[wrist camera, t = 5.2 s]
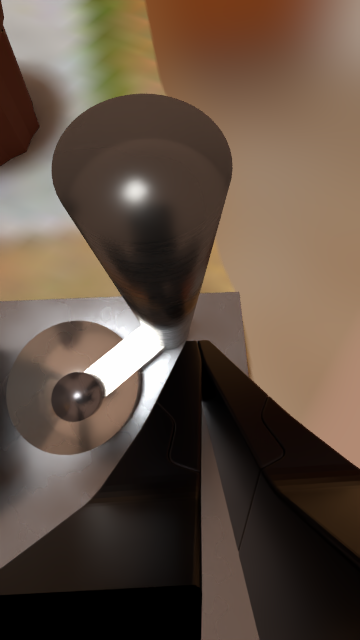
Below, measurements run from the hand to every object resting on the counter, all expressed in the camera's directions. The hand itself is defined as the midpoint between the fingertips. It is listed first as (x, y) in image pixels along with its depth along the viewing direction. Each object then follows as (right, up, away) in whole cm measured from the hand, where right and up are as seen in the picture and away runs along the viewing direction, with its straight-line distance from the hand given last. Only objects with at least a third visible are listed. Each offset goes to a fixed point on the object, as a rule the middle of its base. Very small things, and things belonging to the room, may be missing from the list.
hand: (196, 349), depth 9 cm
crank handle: (-5, -1, +6) cm, 8 cm away
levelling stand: (-5, -8, +5) cm, 11 cm away
